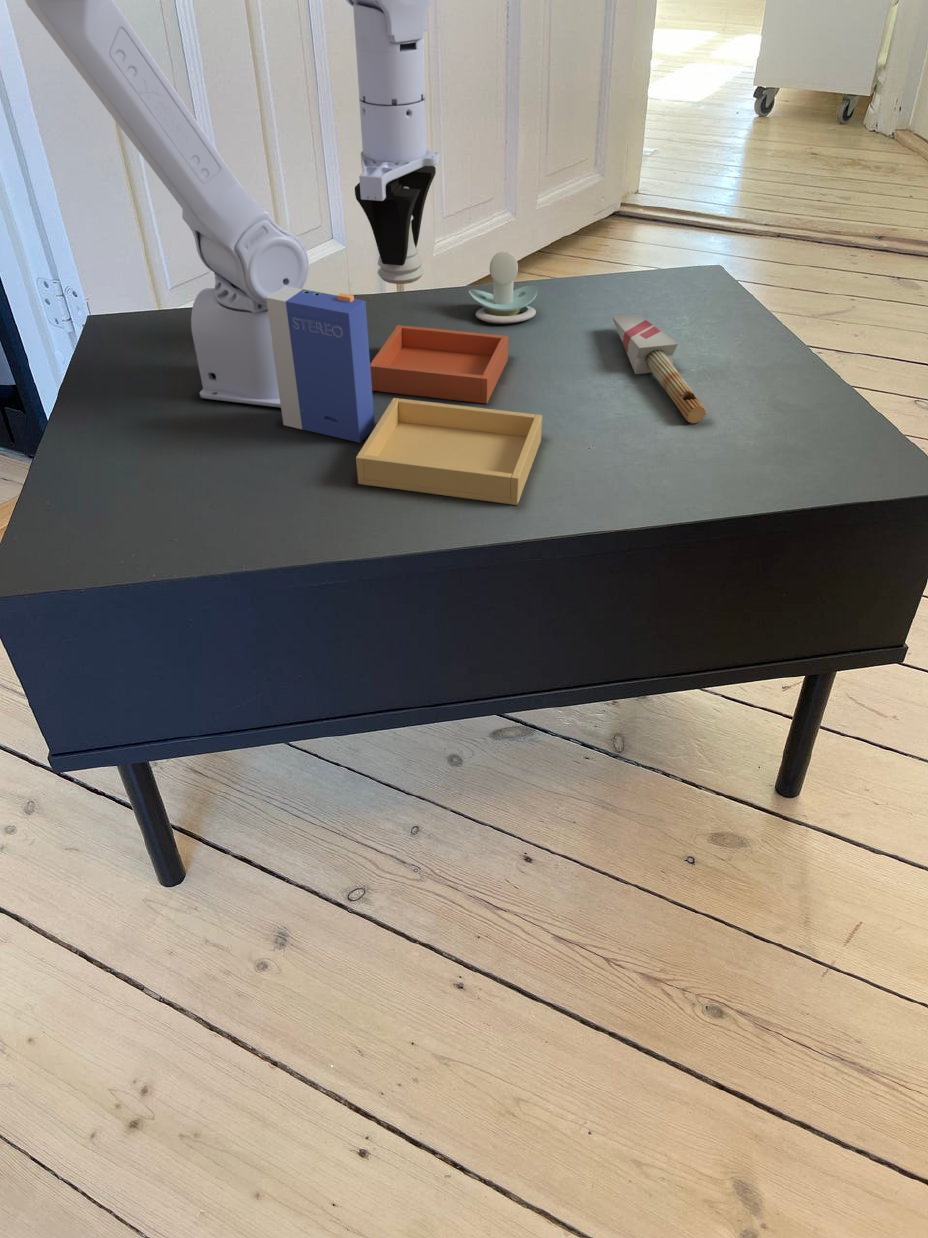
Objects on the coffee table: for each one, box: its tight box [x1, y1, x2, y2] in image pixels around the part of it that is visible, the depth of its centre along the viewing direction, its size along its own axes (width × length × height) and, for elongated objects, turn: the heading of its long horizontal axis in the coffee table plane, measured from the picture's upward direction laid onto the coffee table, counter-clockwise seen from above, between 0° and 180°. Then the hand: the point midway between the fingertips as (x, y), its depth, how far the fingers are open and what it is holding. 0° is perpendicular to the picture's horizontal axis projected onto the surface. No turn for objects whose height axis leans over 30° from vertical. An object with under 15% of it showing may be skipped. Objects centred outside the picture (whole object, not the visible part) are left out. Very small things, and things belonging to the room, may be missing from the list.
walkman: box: [266, 286, 376, 444], centre depth 82 cm, size 8×3×12 cm, turn 65°
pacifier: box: [468, 250, 538, 324], centre depth 102 cm, size 7×6×6 cm
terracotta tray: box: [370, 324, 509, 405], centre depth 92 cm, size 11×9×2 cm
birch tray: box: [355, 397, 543, 506], centre depth 80 cm, size 13×10×2 cm
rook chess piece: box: [377, 186, 424, 285], centre depth 91 cm, size 4×4×8 cm
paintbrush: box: [611, 312, 707, 424], centre depth 92 cm, size 4×3×20 cm
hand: (399, 255), depth 93 cm, fingers closed on rook chess piece, 3 cm apart
